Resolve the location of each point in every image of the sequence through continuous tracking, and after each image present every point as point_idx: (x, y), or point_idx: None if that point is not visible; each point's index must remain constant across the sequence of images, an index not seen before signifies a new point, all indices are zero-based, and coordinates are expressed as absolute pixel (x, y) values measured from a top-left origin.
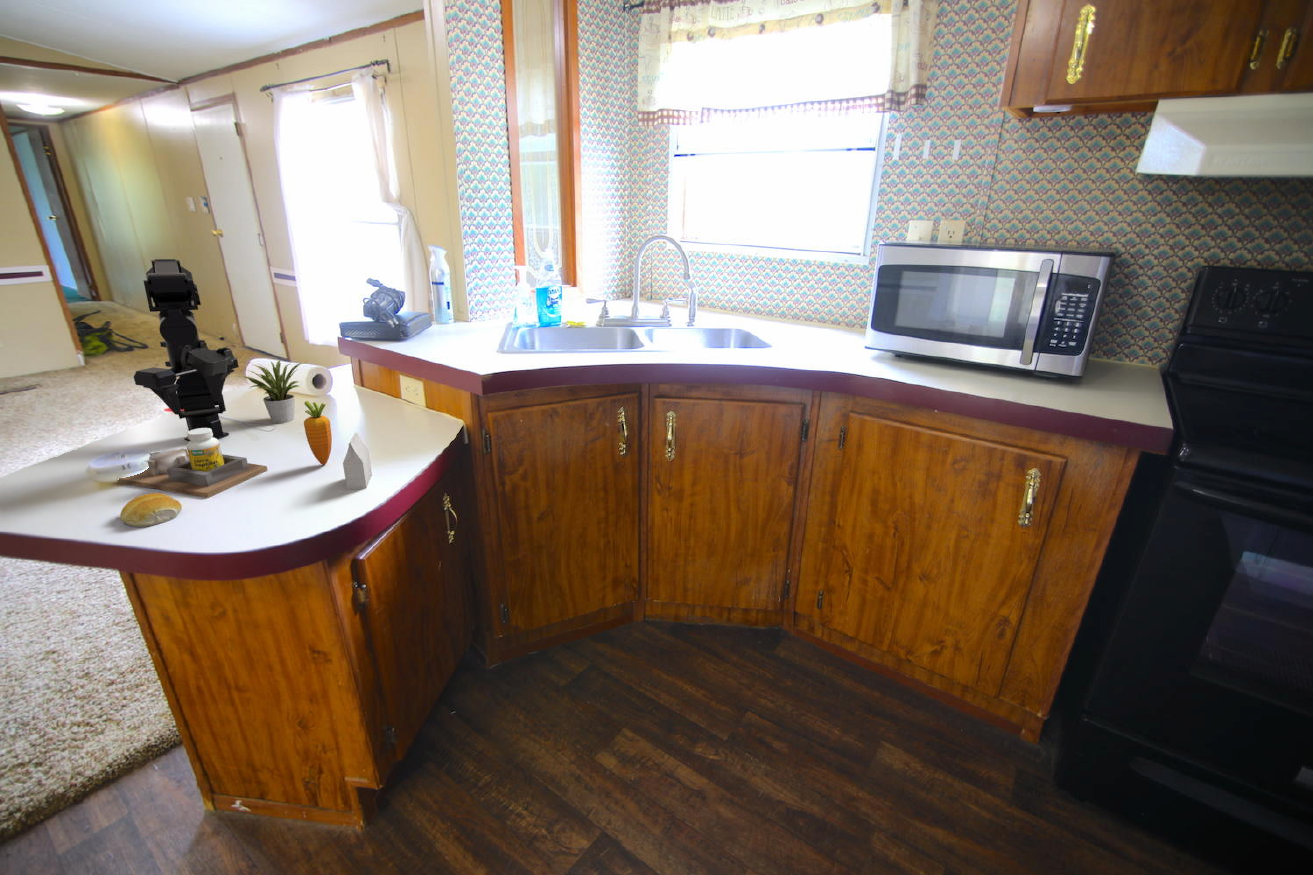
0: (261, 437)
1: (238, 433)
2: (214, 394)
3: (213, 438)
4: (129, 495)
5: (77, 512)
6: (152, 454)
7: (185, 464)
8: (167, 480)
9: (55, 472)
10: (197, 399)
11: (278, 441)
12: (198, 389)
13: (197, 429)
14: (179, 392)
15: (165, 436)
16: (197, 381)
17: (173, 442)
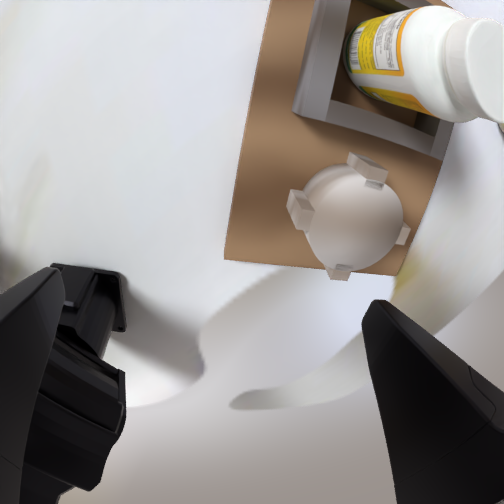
0: (25, 167)
1: (34, 251)
2: (37, 333)
3: (446, 22)
4: (453, 198)
5: (492, 229)
6: (350, 272)
7: (413, 128)
8: (421, 155)
9: (328, 380)
10: (69, 390)
11: (33, 88)
12: (46, 421)
13: (488, 91)
14: (106, 446)
15: (126, 366)
16: (33, 449)
17: (143, 338)
